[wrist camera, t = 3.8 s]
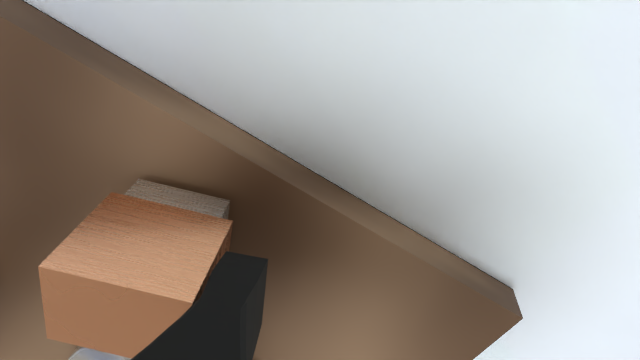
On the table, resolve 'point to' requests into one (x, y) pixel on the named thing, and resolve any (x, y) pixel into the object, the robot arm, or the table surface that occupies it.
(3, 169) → the walnut board
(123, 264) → the dial plate
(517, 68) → the table surface
